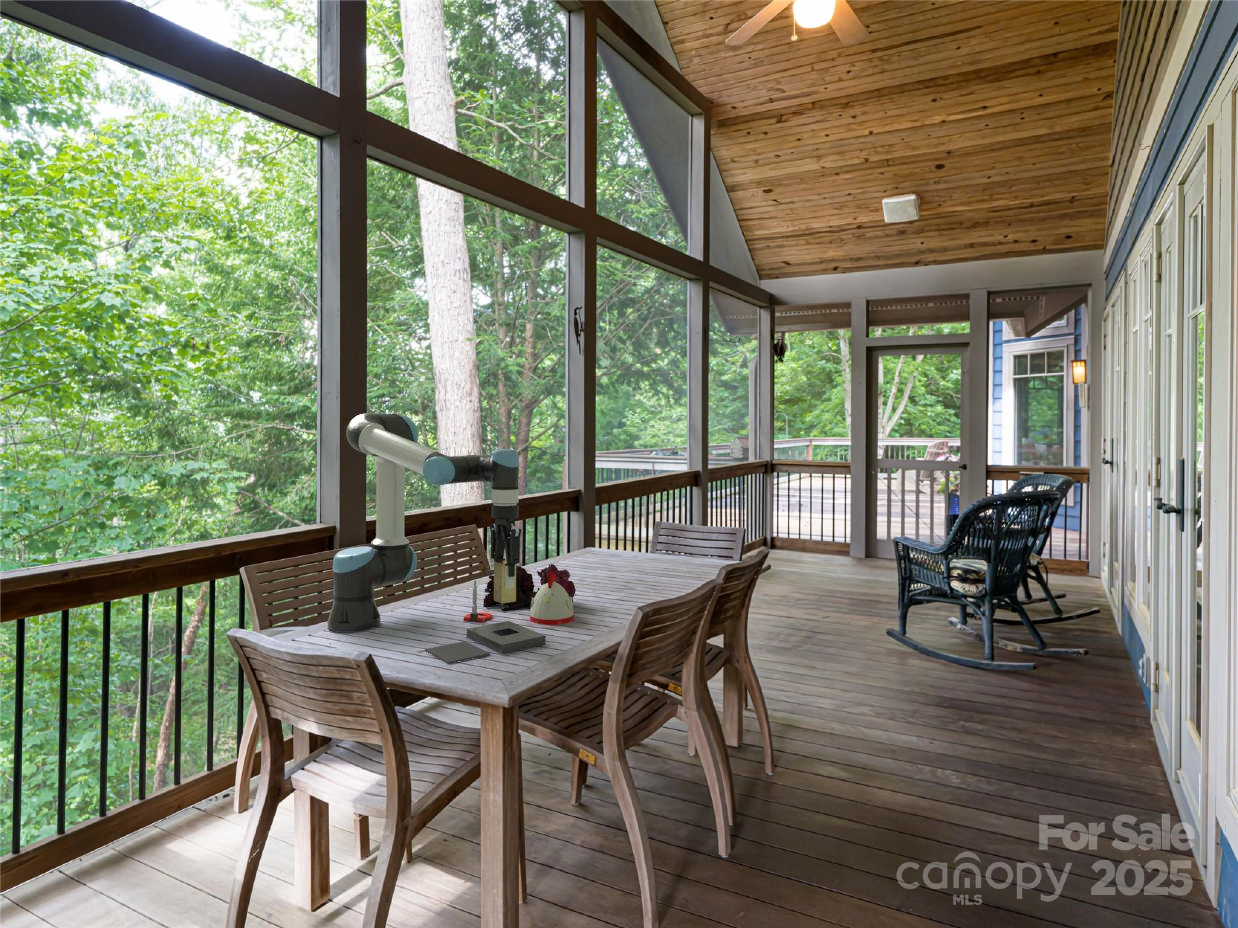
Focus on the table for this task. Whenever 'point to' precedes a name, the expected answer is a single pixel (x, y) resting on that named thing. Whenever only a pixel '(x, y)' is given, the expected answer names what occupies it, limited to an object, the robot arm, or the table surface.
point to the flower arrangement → (529, 587)
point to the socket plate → (506, 637)
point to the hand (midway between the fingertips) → (504, 585)
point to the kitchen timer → (551, 604)
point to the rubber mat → (457, 652)
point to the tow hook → (474, 614)
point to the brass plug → (502, 584)
